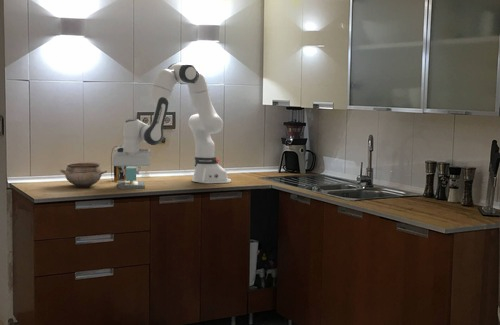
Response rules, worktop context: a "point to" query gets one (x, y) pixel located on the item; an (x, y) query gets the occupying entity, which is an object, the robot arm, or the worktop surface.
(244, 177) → the worktop surface
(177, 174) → the worktop surface
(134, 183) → the header board
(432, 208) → the worktop surface
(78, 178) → the cooking pot
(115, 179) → the multimeter
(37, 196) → the worktop surface
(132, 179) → the block
